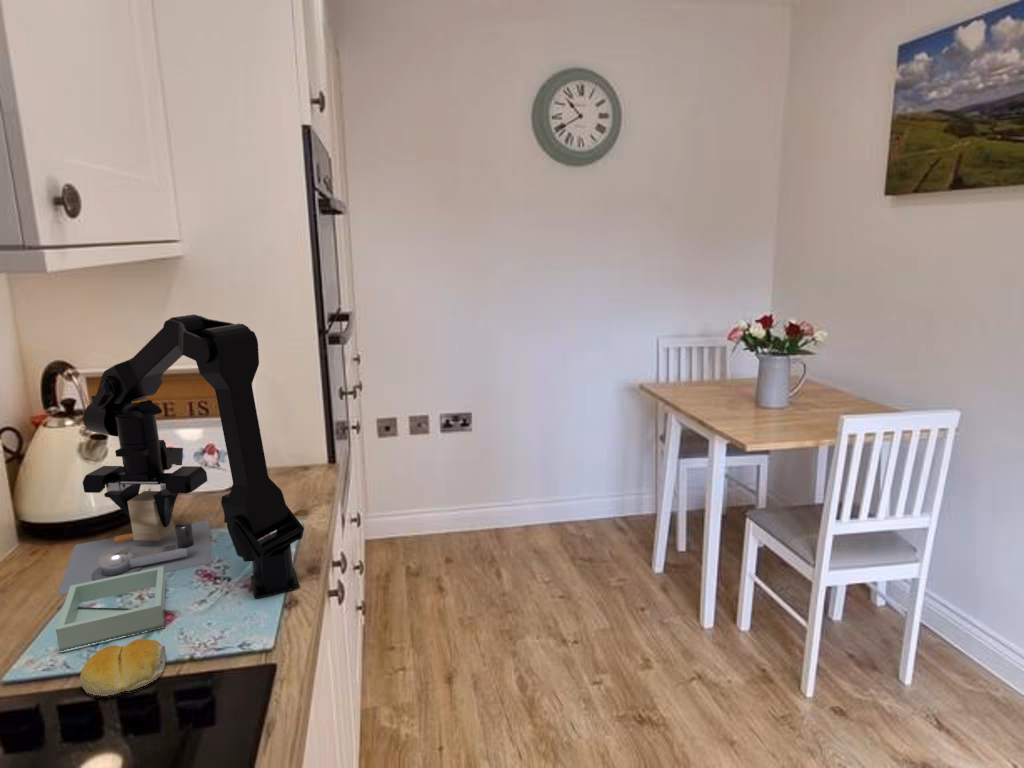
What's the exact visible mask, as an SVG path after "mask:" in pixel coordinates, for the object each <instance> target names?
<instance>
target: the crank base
mask: <svg viewBox="0 0 1024 768" xmlns="http://www.w3.org/2000/svg"><path fill="white" fill-rule="evenodd" d="M190 523H191V525H192V532H193V539H194V545H193V546H191V547H188V548H187V556H185V557H180V558H175V559H171V560H166V561H161V562H156V563H151V564H146V565H141V566H137V567H132V568H130V569H128V570H126V571H124V572H122V573H118V574H114V575H104V574H102V573H101V570H100V564H99V559H98V556H99V555H100V554H101V553H102V552H104V551H106V550H109V549H112V548H116V547H129V548H130V549H131V553H136V552H141V551H146V550H151V549H156V548H161V547H166V546H171V545H176V544H177V537H176V531H175V529H173V530H172V531H171V532H169V533H168V534H167V535H166V536H164V537H163V538H162V539H160V540H134V538H133V532H132V533H131V532H130V533H126V534H121V535H116V536H114V537H111V538H105V539H104V538H103V539H99V540H95V541H90V542H89V541H88V542H84V543H83V542H82V543H77V544H75V546H74V548H73V551H72V553H71V556H70V558H69V561H68V565H67V567H66V570H65V573H64V575H63V578H62V580H61V583H60V586H59V588H58V591H57V594H56V596H57V597H58V596H62V595H68V592H69V589H70V586H71V585H76V584H81V583H86V582H90V581H95V580H100V579H105V578H110V577H114V576H119V575H124V574H129V573H133V572H138V571H143V570H148V569H153V568H157V567H162V566H164V571H165V574H166V573H170V572H175V571H181V570H183V569H184V570H185V569H189V568H192V567H199V566H204V565H207V564H212V563H213V559H212V546H211V534H210V533H211V531H210V519H207V520H205V519H204V520H201V521H195V522H190ZM175 526H176V525H174V528H175Z"/></svg>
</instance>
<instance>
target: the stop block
mask: <svg viewBox="0 0 1024 768" xmlns="http://www.w3.org/2000/svg"><path fill="white" fill-rule="evenodd" d="M159 491H160V490H143V491H141V492H139V495H137V496H135V497H134V498H132V499H131V500H129V501H127V503H128V509H129V514H130V518H129V519H130V524H131V525H130V526H131V530H132V533H133V538H134V540H160V539H162V538H163V537H164V536H166V535H167V534H168V533H169V532H171V531H172V530H173V529H175V528H174V526H175V522H174V516H173V514H172V516H171V520H170V524H169V525H168V526H167V527H164V526H163V524H162V522H161V520H160V516H159V513H158V510H157V506H156V503H155V500H154V497H153V495H154V494H156V493H157V492H159Z"/></svg>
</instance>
